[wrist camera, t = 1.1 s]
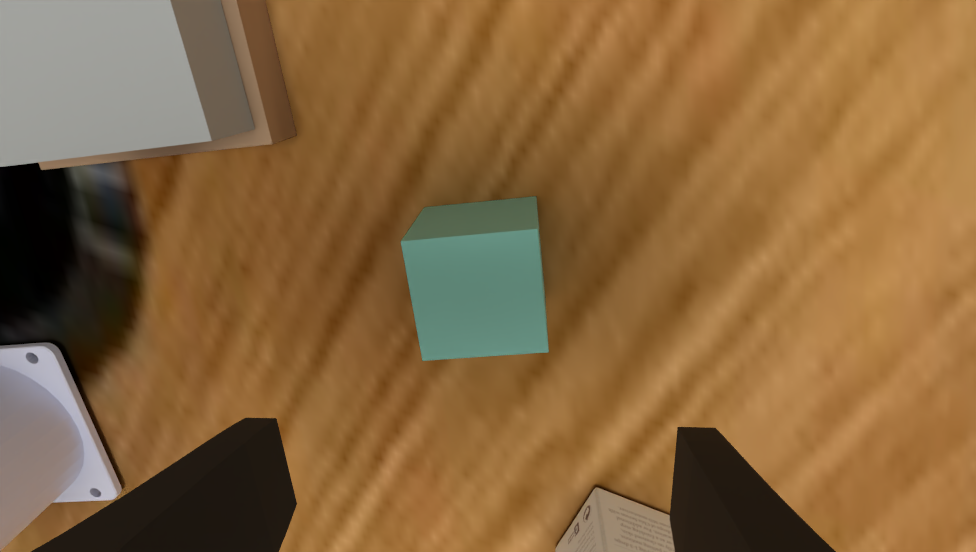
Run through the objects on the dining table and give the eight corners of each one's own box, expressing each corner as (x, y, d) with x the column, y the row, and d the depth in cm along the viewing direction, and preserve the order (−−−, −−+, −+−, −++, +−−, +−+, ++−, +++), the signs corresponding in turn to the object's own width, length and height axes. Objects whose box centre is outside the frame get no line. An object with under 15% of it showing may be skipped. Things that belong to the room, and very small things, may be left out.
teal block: (441, 307, 21) (422, 360, 18) (424, 206, 20) (400, 241, 16) (545, 299, 21) (548, 352, 17) (536, 195, 20) (537, 228, 16)
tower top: (51, 154, 18) (-20, 169, 16) (-50, -98, 16) (-153, -124, 13) (254, 129, 17) (211, 141, 15) (182, -141, 15) (117, -177, 12)
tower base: (95, 156, 21) (41, 170, 18) (3, -96, 18) (-76, -118, 15) (302, 133, 20) (272, 144, 17) (240, -136, 17) (194, -166, 15)
